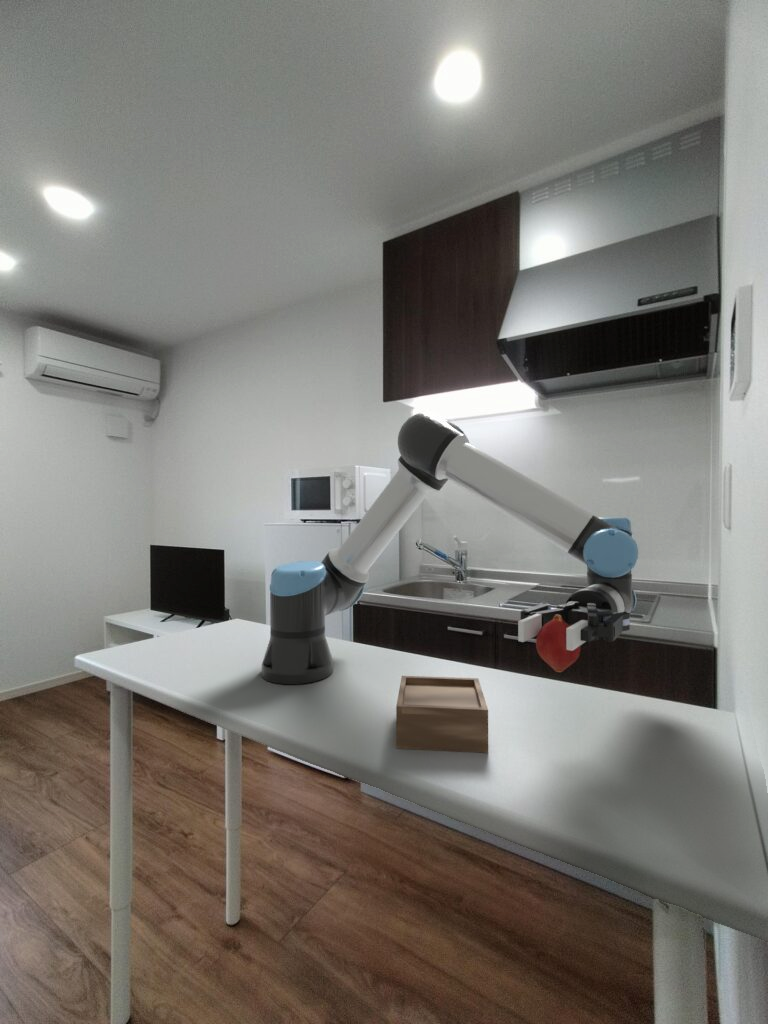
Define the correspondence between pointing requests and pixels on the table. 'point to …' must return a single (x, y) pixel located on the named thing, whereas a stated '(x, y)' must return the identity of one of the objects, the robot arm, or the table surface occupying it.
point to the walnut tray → (441, 714)
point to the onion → (555, 645)
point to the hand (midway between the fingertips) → (544, 635)
